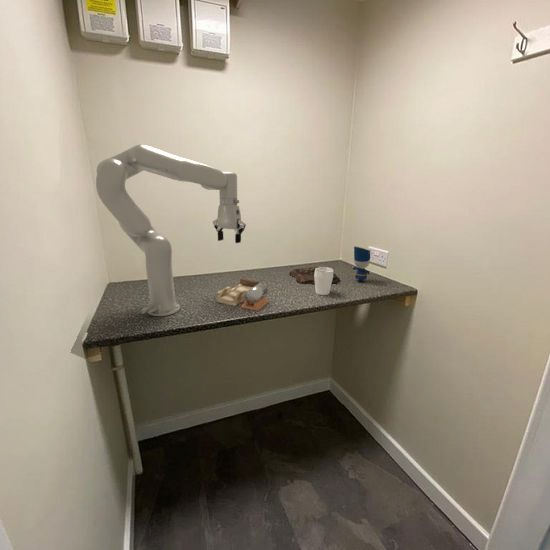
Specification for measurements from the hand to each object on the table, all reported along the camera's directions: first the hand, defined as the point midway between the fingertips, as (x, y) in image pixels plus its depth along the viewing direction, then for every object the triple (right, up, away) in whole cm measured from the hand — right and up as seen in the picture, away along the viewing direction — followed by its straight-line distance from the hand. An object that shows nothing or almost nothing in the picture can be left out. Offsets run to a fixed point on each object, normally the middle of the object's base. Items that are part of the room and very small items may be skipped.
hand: (229, 241), depth 128 cm
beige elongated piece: (+4, -25, +6) cm, 26 cm away
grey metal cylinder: (+12, -26, -3) cm, 29 cm away
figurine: (+67, -19, +29) cm, 75 cm away
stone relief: (+44, -17, +35) cm, 58 cm away
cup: (+44, -24, +12) cm, 51 cm away
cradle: (+12, -28, -3) cm, 31 cm away
